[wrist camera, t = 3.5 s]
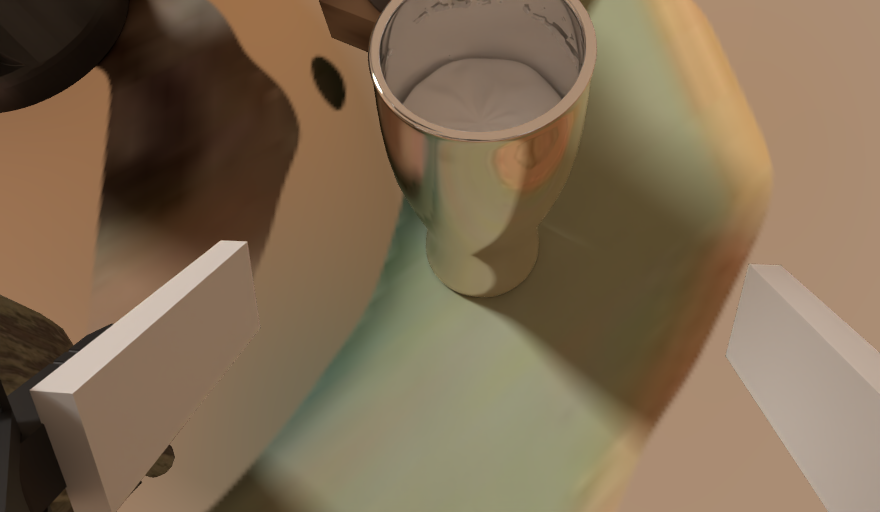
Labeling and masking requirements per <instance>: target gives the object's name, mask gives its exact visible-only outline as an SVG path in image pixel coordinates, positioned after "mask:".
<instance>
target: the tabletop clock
mask: <svg viewBox="0 0 880 512" xmlns="http://www.w3.org/2000/svg"><path fill="white" fill-rule="evenodd" d="M72 346H73V344H72V342H71V341H70V339H69V338H68V336H67V334H66V333H65V332H64V330H63V329H62V328H61V327H59V326H58V325H57V324H55V323H54V322H53V321H51V320H50V319H48V318H46V317H45V316H43V315H42V314H40V313H38V312H36V311H34V310H32V309H29V308H27V307H25V306H23V305H21V304H19V303H17V302H15V301H12V300H10V299H8V298H6V297H4V296H2V295H0V380H1V382H2V385H3V388H4V390H5V393H6V395H7V396H8V395H9V394H11V393H12V392H13V391H14V390H16V389H17V388H18V387H20V386H21V385H22V384H24V383H25V382H26V381H28V380H29V379H30V378H32V377H33V376H34V375H36V374H37V373H38V372H39V371H41V370H42V369H43V368H45V367H46V366H47V365H49V364H53V363H54V360H55V359H57V358H58V357H59V356H61V355H62V354H63V353H64V352H69V349H70V348H71V347H72ZM174 458H175V456H174V452H173V449H172V447H171V446H170V445H168V447H167V448H166V449H165V450H164V452H163V453H162V454H161V455H160V457H159V458H158V459H157V461H156V462H155V463H154V464H153V466H152V467H151V468H150V470H149V471H148V472H147V473H146V476H149V477H158V476H160V475H162V474H165V473H166V472H167V471H168V470H169V469H170V468H171V467H172V464H173V461H174ZM141 483H142V482H141V481H140V482H139V484H138V485H137V486H136V487H135V489H136V488H137V487H138V486H139V485H140V484H141ZM135 489H134V490H135ZM134 490H133V491H134ZM133 491H132V492H133ZM132 492H131V493H132ZM50 508H51V510H52V512H74V510H73V508H72V505H71V502H70V499H69V497H68V494H67V491H66V489H64V490H63V491H62V492H61V493H60V494H59V495H58V497H57V498H56V499H55V500H54V501H53V502H52V503H51V504H50Z"/></svg>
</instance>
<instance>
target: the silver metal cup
mask: <svg viewBox="0 0 880 512" xmlns="http://www.w3.org/2000/svg"><path fill="white" fill-rule="evenodd" d="M596 56H597V42H596V35H595V30H594V27H593V24H592V21H591V19H590V16H589V15H588V13H587V11H586V9H585V8H584V6H583V5H582V3H581V2H580V1H579V0H391V1H390V2H389V3H388V4H387V5H386V7H385V8H384V9H383V11H382V12H381V14H380V15H379V17H378V19H377V21H376V23H375V25H374V28H373V30H372V33H371V37H370V41H369V48H368V62H369V70H370V74H371V78H372V81H373V84H374V91H375V97H376V105H377V111H378V116H379V121H380V127H381V132H382V136H383V140H384V144H385V148H386V152H387V156H388V159H389V162H390V164H391V167H392V170H393V172H394V175H395V178H396V180H397V183H398V185H399V187H400V188H401V190H402V192H403V194H404V195H405V197H406V199H407V201H408V202H409V204H410V206H411V207H412V209H413V210H414V211H415V213H416V214H417V216H418V217H419V218H420V220H421V221H422V222H423V224H424V225H425V226H426V228H427V235H426V254H427V258H428V262H429V264H430V267H431V268H432V270H433V272H434V273H435V275H436V276H437V277H438V278H439V279H440V281H442V282H443V283H444V284H445V285H446V286H448V287H449V288H451V289H452V290H454V291H456V292H458V293H461V294H463V295H467V296H471V297H493V296H497V295H501V294H504V293H506V292H508V291H510V290H512V289H514V288H515V287H517V286H518V285H519V284H520V283H521V282H522V281H523V280H524V279H525V278H526V277H527V276H528V275H529V273H530V272H531V270H532V269H533V267H534V265H535V262H536V260H537V256H538V251H539V236H538V230H537V227H538V225H539V224H540V223H541V221H542V220H543V219H544V217H545V216H546V215H547V213H548V212H549V210H550V209H551V208H552V206H553V205H554V203H555V201H556V200H557V198H558V196H559V194H560V193H561V191H562V189H563V187H564V185H565V184H566V182H567V179H568V177H569V174H570V172H571V169H572V166H573V163H574V161H575V158H576V155H577V152H578V148H579V144H580V140H581V136H582V132H583V128H584V123H585V117H586V111H587V105H588V99H589V91H590V84H591V78H592V74H593V71H594V67H595V63H596Z"/></svg>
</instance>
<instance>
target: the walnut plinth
mask: <svg viewBox="0 0 880 512" xmlns="http://www.w3.org/2000/svg"><path fill="white" fill-rule="evenodd" d="M390 1H391V0H319V2H320V5H321V8H322V11H323V14H324V16H325V19H326V22H327V25H328V28H329V31H330V34H331V37H332V38H334V39H337V40H340V41H342V42H344V43H347V44H349V45H352V46H354V47H357V48H359V49H362V50H364V51H366V52H368V48H369V41H370V37H371V33H372V30H373V28H374V25H375V23H376V21H377V19H378V17H379V15H380V14H381V12H382V11H383V9H384V8H385V7H386V5H387V4H388V3H389V2H390Z"/></svg>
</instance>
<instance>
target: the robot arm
mask: <svg viewBox="0 0 880 512" xmlns="http://www.w3.org/2000/svg"><path fill="white" fill-rule="evenodd" d="M128 5H129V0H0V113H2V112H8V111H13V110H18V109H21V108H25V107H28V106H31V105H34V104H37V103H39V102H42V101H44V100H46V99H48V98H51V97H52V96H54V95H56V94H58V93H60V92H62V91H63V90H65V89H67V88H68V87H70V86H71V85H73V84H74V83H76V82H77V81H79V80H80V79H81V78H83V77H84V76H85V75H86V74H87V73H88V72H90V71H91V70H92V69H93V68H94V67H95V66H96V65H97V64H98V63H99V62H100V61H101V60H102V59H103V58H104V56H105V55H106V54H107V53H108V51H109V50H110V49H111V47H112V46H113V44H114V43H115V41H116V40H117V38H118V36H119V34H120V32H121V30H122V28H123V25H124V23H125V20H126V17H127V12H128ZM259 329H260V322H259V315H258V308H257V302H256V295H255V289H254V282H253V275H252V269H251V262H250V255H249V249H248V242H246V241H223V240H221V241H219V242H218V243H217V244H216V245H214V246H213V247H212V248H210V249H209V250H208V251H207V252H205V253H204V254H203V255H202V256H200V257H199V258H198V259H196V260H195V261H194V262H193V263H191V264H190V265H189V266H187V267H186V268H185V269H184V270H182V271H181V272H180V273H179V274H177V275H176V276H175V277H173V278H172V279H171V280H170V281H168V282H167V283H166V284H164V285H163V286H162V287H161V288H159V289H158V290H157V291H156V292H154V293H153V294H152V295H150V296H149V297H148V298H147V299H145V300H144V301H143V302H142V303H140V304H139V305H138V306H136V307H135V308H134V309H133V310H131V311H130V312H129V313H127V314H126V315H125V316H124V317H122V318H121V319H120V320H119V321H117V322H116V323H115V324H110V325H108V326H106V327H104V328H101V329H99V330H97V331H95V332H93V333H91V334H89V335H87V336H86V337H84V338H83V339H82V340H80V341H79V342H78V343H76V344H75V345H74V346H72V347H71V348H70V349H69V352H64V353H63V354H62V355H61V356H59V357H58V358H57V359H55V360H54V363H53V364H49V365H47V366H46V367H45V368H43V369H42V370H41V371H39V372H38V373H37V374H36V375H34V376H33V377H32V378H30V379H29V380H28V381H26V382H25V383H24V384H22V385H21V386H20V387H18V388H17V389H16V390H14V391H13V392H12V393H11V394H9V395H8V396H7V395H6V393H5V390H4V388H3V385H2V382H1V380H0V512H52V510H51V508H50V504H51V503H52V502H53V501H54V500H55V499H56V498H57V497H58V495H59V494H60V493H61V492H62V491H63V490H64V489H66V491H67V494H68V497H69V499H70V502H71V505H72V508H73V510H74V512H117V510H118V509H119V508H120V506H121V505H122V504H123V502H124V501H125V500H126V499H127V498H128V496H129V495H130V494H131V492H132V491H133V490H134V489H135V487H136V486H137V485H138V484H139V482H140V481H141V479H142V478H143V477H144V476H145V475H146V473H147V472H148V471H149V470H150V468H151V467H152V466H153V464H154V463H155V462H156V461H157V459H158V458H159V457H160V455H161V454H162V453H163V452H164V450H165V449H166V448H167V447H168V445H169V444H170V443H171V441H172V440H173V439H174V438H175V436H176V435H177V434H178V433H179V431H180V430H181V429H182V427H183V426H184V425H185V424H186V422H187V421H188V420H189V419H190V417H191V416H192V415H193V413H194V412H195V411H196V410H197V408H198V407H199V406H200V405H201V403H202V402H203V401H204V399H205V398H206V397H207V396H208V394H209V393H210V392H211V391H212V389H213V388H214V387H215V385H216V384H217V383H218V382H219V380H220V379H221V378H222V376H223V375H224V374H225V373H226V371H227V370H228V369H229V368H230V366H231V365H232V364H233V363H234V361H235V360H236V359H237V357H238V356H239V355H240V354H241V352H242V351H243V350H244V349H245V347H246V346H247V345H248V343H249V342H250V341H251V340H252V338H253V337H254V336H255V335H256V333H257V332H258V330H259ZM726 358H727V359H728V360H729V362H730V364H731V365H732V367H733V368H734V370H735V371H736V373H737V374H738V376H739V377H740V379H741V380H742V382H743V383H744V385H745V386H746V388H747V389H748V391H749V393H750V394H751V396H752V397H753V399H754V400H755V402H756V403H757V405H758V406H759V408H760V409H761V411H762V412H763V414H764V415H765V417H766V418H767V420H768V421H769V423H770V424H771V426H772V427H773V429H774V430H775V432H776V433H777V435H778V436H779V438H780V439H781V441H782V443H783V444H784V445H785V447H786V449H787V450H788V452H789V453H790V454H791V456H792V458H793V459H794V461H795V462H796V464H797V465H798V467H799V468H800V470H801V471H802V473H803V474H804V476H805V477H806V479H807V480H808V482H809V484H810V485H811V487H812V488H813V490H814V491H815V493H816V494H817V496H818V497H819V499H820V500H821V502H822V503H823V504H824V506H825V508H826V509H827V511H828V512H880V352H878V351H877V350H876V349H875V348H874V347H873V346H872V345H871V344H869V343H868V342H867V341H866V340H865V339H864V338H863V337H862V336H861V335H859V334H858V333H857V332H856V331H855V330H854V329H853V328H851V327H850V326H849V325H848V324H847V323H846V322H844V320H842V319H841V318H840V317H839V316H838V315H837V314H836V313H835V312H833V311H832V310H831V309H830V308H829V307H828V306H827V305H825V304H824V303H823V302H822V301H821V300H820V299H819V298H818V297H817V296H815V295H814V294H813V293H812V292H811V291H810V290H809V289H807V288H806V287H805V286H804V285H803V284H802V283H801V282H800V281H798V280H797V279H796V278H795V277H794V276H793V275H792V274H791V273H789V272H788V271H787V270H786V269H785V268H784V267H783V266H782V265H771V264H748V268H747V272H746V276H745V280H744V284H743V288H742V292H741V296H740V301H739V304H738V308H737V312H736V316H735V320H734V324H733V328H732V332H731V336H730V340H729V344H728V348H727V351H726Z"/></svg>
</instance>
